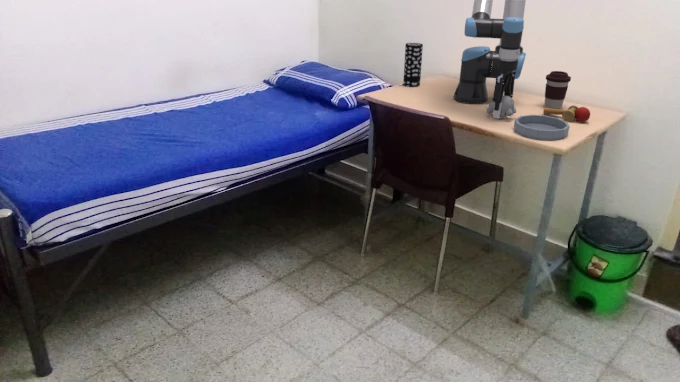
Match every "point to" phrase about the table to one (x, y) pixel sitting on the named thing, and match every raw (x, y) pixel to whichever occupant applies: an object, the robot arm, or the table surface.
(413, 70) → the spotted tube
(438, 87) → the table surface
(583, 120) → the kendama
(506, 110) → the round bodied animal figurine
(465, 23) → the robot arm
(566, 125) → the round tray
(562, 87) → the coffee cup
